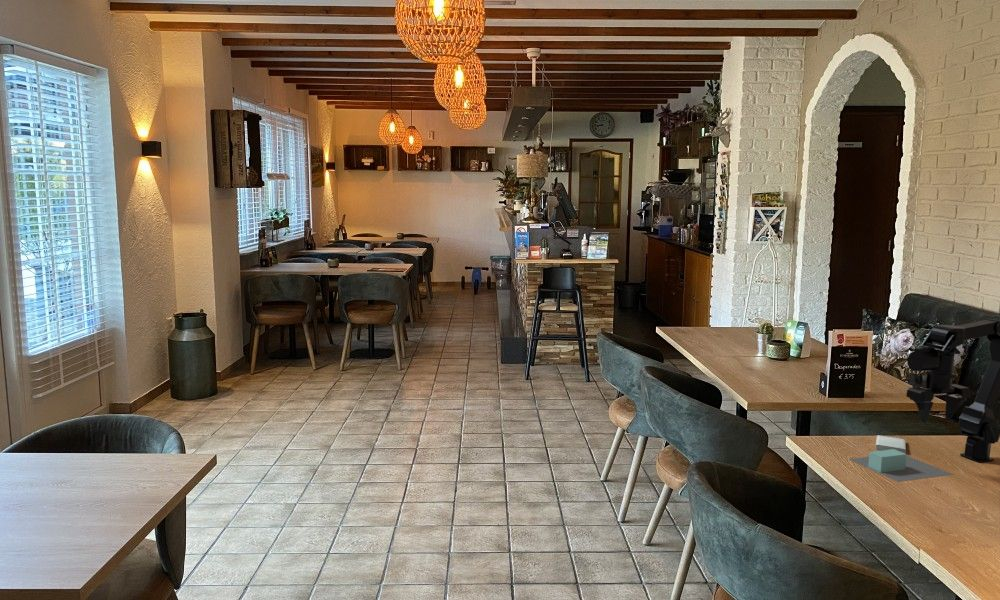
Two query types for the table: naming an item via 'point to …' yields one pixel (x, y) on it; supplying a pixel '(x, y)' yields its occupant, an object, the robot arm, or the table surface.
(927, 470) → the rubber mat
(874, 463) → the teal block
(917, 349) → the robot arm
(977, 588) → the table surface
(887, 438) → the hard drive
